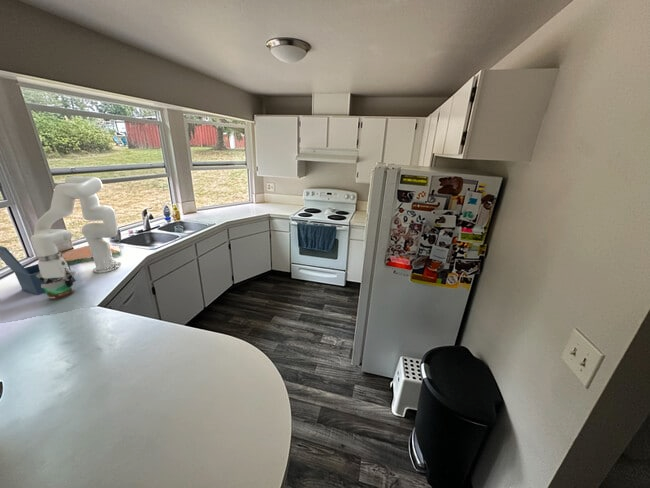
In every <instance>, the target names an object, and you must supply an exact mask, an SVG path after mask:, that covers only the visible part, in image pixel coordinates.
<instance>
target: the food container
mask: <svg viewBox="0 0 650 488" xmlns="http://www.w3.org/2000/svg"><path fill="white" fill-rule="evenodd" d="M67 278H68V277H67ZM65 281H66V280H65V279H64V278H62V277H61V278H58V279H55V280H53V281H51V282H49V283H47V284H41V288H44V290H45V292H44V293H46V295H47V297H48V299H49V300H59V299H63V298H66V297H69V296H70V295H72V294H73V287H72V286H71V287H69V288H68V287H67V285H66V282H65Z"/></svg>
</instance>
